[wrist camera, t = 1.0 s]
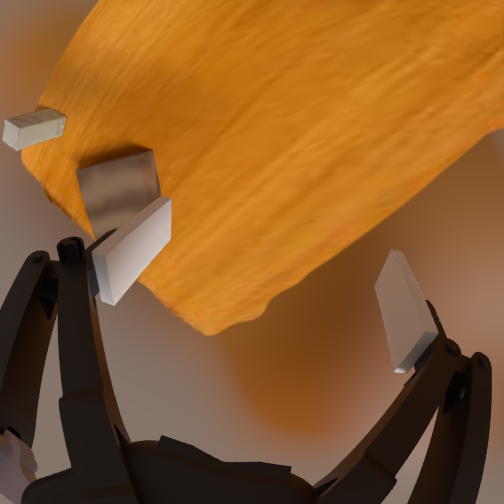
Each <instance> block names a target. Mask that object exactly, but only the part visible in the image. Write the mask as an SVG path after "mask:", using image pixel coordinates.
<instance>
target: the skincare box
mask: <svg viewBox="0 0 504 504" xmlns="http://www.w3.org/2000/svg"><path fill="white" fill-rule="evenodd" d="M65 122H66V116H65V115H63V114H61V113H60V112H58V111H56V110H54V109H52V108H49V109H44V110H39V111H35V112H31V113H27V114H24V115H20V116H16V117H13V118H9V119H6V120H5V125H4V131H3V141H4V142H5V143H6V144H8V145H9V146H10V147H12V148H13V149H14V150H16V151H18V150H21V149H23V148H26V147H29V146H31V145H34V144H37V143H40V142H43V141H46V140H49V139H52V138H55V137H59V136H62V134H63V130H64V126H65Z"/></svg>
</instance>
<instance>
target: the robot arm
mask: <svg viewBox="0 0 504 504" xmlns="http://www.w3.org/2000/svg"><path fill="white" fill-rule="evenodd" d="M171 203H172V199H170V198H165V197H159V198H158V199H156V200H155V201H154V202H152V203H151V204H150V205H148V206H147V207H146V208H144V209H143V210H142V211H141V212H139V213H138V214H137V215H135V216H134V217H133V218H132V219H130V220H129V221H128V222H127V223H125V224H124V225H123V226H122V227H120V228H119V229H116V228H115V229H113V230H110V231H108V232H106V233H105V234H104V235H103V236H101V238H99V239H98V240H96V242H94V243H93V244H92V245H90V246H89V247H88V248H87V249H86V250H85V247H84V242H83V240H82V239H81V238H80V237H68V238H65V239H63V240H61V241H60V242H59V243H58V244H57V251H58V255H59V260H60V261H53V260H50V256H49V254H48V252H46V251H36V252H33V253H32V254H31V255H29V256H28V258H27V259H26V260H25V262H24V264H23V266H22V268H21V269H20V271H19V273H18V275H17V277H16V279H15V281H14V282H13V284H12V286H11V288H10V290H9V292H8V294H7V296H6V298H5V301H4V303H3V305H2V307H1V309H0V493H2V494H3V495H4V496H5V497H6V498H8V499H9V500H10V501H12V502H13V503H15V504H381V503H382V501H383V500H384V499H385V498H386V496H387V495H388V494H389V493H390V491H391V490H392V489H393V487H394V486H395V484H396V482H397V479H396V478H395V476H396V474H397V473H398V471H399V470H400V468H401V467H402V466H403V464H404V463H405V461H406V460H407V458H408V457H409V455H410V454H411V452H412V451H413V449H414V448H415V446H416V445H417V443H418V441H419V440H420V438H421V436H422V435H423V433H424V431H425V430H426V428H427V426H428V425H429V423H430V421H431V419H432V418H433V415H434V414H435V412H436V410H437V408H438V406H439V409H438V413H437V418H436V421H435V426H434V430H433V433H432V437H431V440H430V444H429V447H428V450H427V454H426V456H425V459H424V462H423V466H422V468H421V471H420V474H419V476H418V479H417V482H416V484H415V487H414V489H413V491H412V494H411V496H410V498H409V501H408V503H407V504H475V503H476V500H477V496H478V492H479V488H480V484H481V480H482V475H483V470H484V465H485V460H486V453H487V447H488V439H489V430H490V419H491V402H492V367H491V363H490V361H489V358H488V357H487V356H486V355H484V354H483V353H481V352H476V353H474V354H473V356H472V357H471V358H469V357H466V356H464V355H462V354H461V350H460V348H459V346H458V344H456V343H455V342H454V341H453V340H451V339H449V338H447V337H446V334H445V332H444V329H443V327H442V324H441V322H440V321H439V318H438V316H437V313H436V310H435V308H434V307H433V305H432V304H431V303H430V302H429V300H425V299H424V296H423V294H422V292H421V290H420V288H419V285H418V283H417V281H416V279H415V277H414V275H413V273H412V271H411V268H410V266H409V264H408V262H407V260H406V259H405V256H404V255H403V253H402V252H400V251H396V250H393V249H391V251H390V253H389V256H388V258H387V260H386V263H385V265H384V267H383V269H382V271H381V274H380V276H379V278H378V280H377V283H376V284H375V290H376V293H377V298H378V301H379V305H380V309H381V313H382V317H383V322H384V326H385V330H386V334H387V339H388V344H389V349H390V354H391V359H392V364H393V370H394V372H399V373H408V371H409V370H410V369H411V368H412V367H413V366H414V367H415V373H414V374H413V375H412V376H411V378H410V379H409V380H408V381H407V382H406V383H405V384H404V388H403V389H402V391H401V392H400V393H399V395H398V396H397V398H396V399H395V400H394V402H393V403H392V404H391V406H390V407H389V408H388V409H387V411H386V412H385V413H384V414H383V416H382V417H381V418H380V420H379V421H378V422H377V423H376V424H375V426H374V427H373V428H372V429H371V430H370V431H369V433H368V434H367V435H366V436H365V437H364V438H363V440H361V442H360V443H359V444H358V445H357V446H356V447H355V448H354V449H353V450H352V451H351V452H350V453H349V454H348V455H347V456H346V458H344V459H343V460H342V462H340V463H339V464H338V465H337V467H336V468H334V469H333V470H332V471H331V472H330V473H329V474H328V475H327V476H326V477H324V478H323V479H321V480H320V481H319V482H317V483H316V484H315V485H314V486H312V485H310V484H309V483H308V482H307V481H305V480H304V479H302V478H300V477H299V476H296V475H295V474H292V473H291V466H284V465H277V464H271V463H264V462H223V461H221V460H218V459H217V458H215V457H213V456H211V455H209V454H207V453H205V452H203V451H202V450H200V449H198V448H196V447H194V446H193V445H190V444H186V443H183V442H180V441H177V440H174V439H171V438H169V437H166V436H163V435H162V436H161V438H160V440H159V441H154V440H145V441H137V442H132V443H131V441H130V438H129V436H128V433H127V431H126V429H125V426H124V424H123V421H122V418H121V415H120V412H119V408H118V405H117V401H116V398H115V395H114V391H113V387H112V383H111V379H110V375H109V370H108V366H107V361H106V358H105V352H104V347H103V342H102V336H101V331H100V325H99V318H98V312H97V304H96V299H95V296H96V294H98V292H100V296H101V300H102V301H103V302H106V303H108V304H111V305H113V306H115V304H116V303H117V302H118V301H119V299H120V298H121V297H122V296H123V294H124V293H125V292H126V291H127V289H128V288H129V287H130V286H131V284H132V283H133V282H134V281H135V280H136V279H137V277H138V276H139V275H140V274H141V273H142V272H143V270H144V269H145V268H146V267H147V266H148V265H149V263H150V262H151V261H152V260H153V259H154V258H155V256H156V255H157V254H158V253H159V252H160V251H161V250H162V248H163V247H164V246H165V245H166V244H167V243H168V242H169V241H170V239H171ZM57 313H58V347H59V361H60V373H61V382H62V391H63V397H62V398H59V411H60V417H61V423H62V428H63V433H64V437H65V443H66V447H67V451H68V455H69V459H70V463H71V468H69V469H66V470H64V471H61V472H58V473H55V474H52V475H49V476H46V477H43V478H40V479H36V476H35V472H36V471H37V468H38V466H37V463H36V461H35V458H34V455H33V452H32V450H31V448H32V444H33V440H34V434H35V427H36V417H37V407H38V400H39V393H40V387H41V381H42V375H43V370H44V365H45V360H46V355H47V351H48V346H49V342H50V339H51V335H52V331H53V327H54V323H55V320H56V316H57Z"/></svg>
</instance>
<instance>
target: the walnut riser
mask: <svg viewBox="0 0 504 504" xmlns="http://www.w3.org/2000/svg"><path fill="white" fill-rule="evenodd" d="M76 173H77V177H78V181H79V185H80V189H81V192H82V196H83V200H84V203H85V207H86V210H87V214H88V217H89V220H90V223H91V227H92V230H93V233H94V236H95V239H96V240H98V239H99V238H101V236H103V235H104V234H105V233H106V232H108V231H110V230H113V229H115V228H116V229H119V228H120V227H122V226H123V225H124V224H125V223H127V222H128V221H129V220H130V219H132V218H133V217H134V216H135V215H137V214H138V213H139V212H141V211H142V210H143V209H144V208H146V207H147V206H148V205H150V204H151V203H152V202H154V201H155V200H156V199H158V198H159V197H162V194H161V189H160V184H159V180H158V175H157V170H156V165H155V159H154V154H153V150H149V151H144V152H140V153H135V154H130V155H126V156H122V157H117V158H113V159H109V160H105V161H101V162H97V163H94V164H91V165H88V166H86V167H84V168H81V169H79V170H77V171H76Z"/></svg>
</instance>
